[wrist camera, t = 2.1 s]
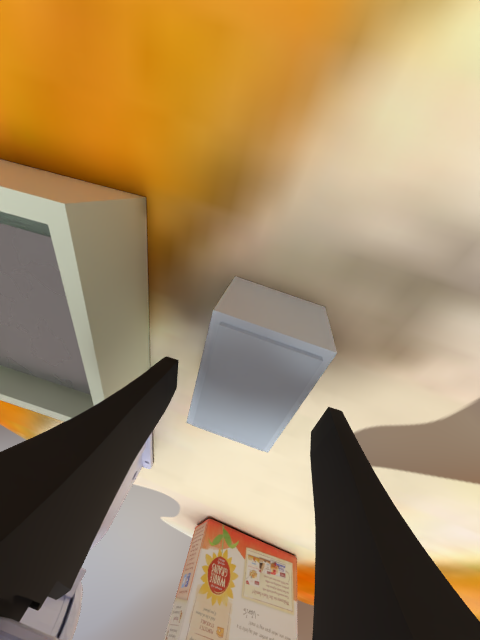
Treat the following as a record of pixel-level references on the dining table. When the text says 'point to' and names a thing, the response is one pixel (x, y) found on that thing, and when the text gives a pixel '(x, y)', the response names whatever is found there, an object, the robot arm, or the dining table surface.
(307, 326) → the pale grey box
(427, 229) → the dining table surface
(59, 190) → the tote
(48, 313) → the tin block
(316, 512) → the robot arm
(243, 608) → the cracker box
